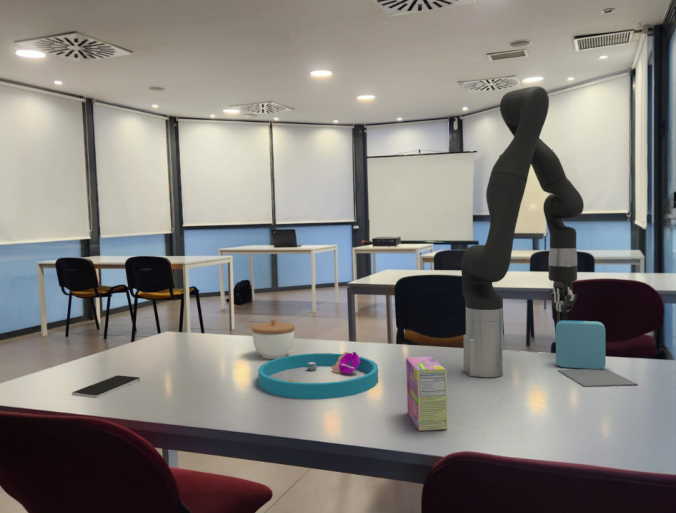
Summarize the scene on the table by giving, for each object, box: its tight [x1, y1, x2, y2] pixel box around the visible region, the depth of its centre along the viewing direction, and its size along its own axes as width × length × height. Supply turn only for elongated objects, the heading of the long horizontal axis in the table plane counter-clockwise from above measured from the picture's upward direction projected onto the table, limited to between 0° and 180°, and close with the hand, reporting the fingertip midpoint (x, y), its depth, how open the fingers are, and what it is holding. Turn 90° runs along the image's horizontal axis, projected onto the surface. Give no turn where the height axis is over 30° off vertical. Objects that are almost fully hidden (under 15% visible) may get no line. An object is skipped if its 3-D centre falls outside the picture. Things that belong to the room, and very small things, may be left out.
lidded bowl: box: [251, 318, 296, 360], centre depth 166 cm, size 13×13×11 cm
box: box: [405, 356, 448, 432], centre depth 110 cm, size 10×6×12 cm, turn 5°
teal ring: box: [257, 351, 379, 400], centre depth 140 cm, size 30×30×6 cm
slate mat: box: [557, 368, 638, 388], centre depth 138 cm, size 13×14×1 cm
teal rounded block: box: [555, 319, 607, 369], centre depth 148 cm, size 12×4×12 cm, turn 67°
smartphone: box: [71, 375, 141, 399], centre depth 137 cm, size 8×1×15 cm
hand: (562, 324), depth 159 cm, fingers closed
